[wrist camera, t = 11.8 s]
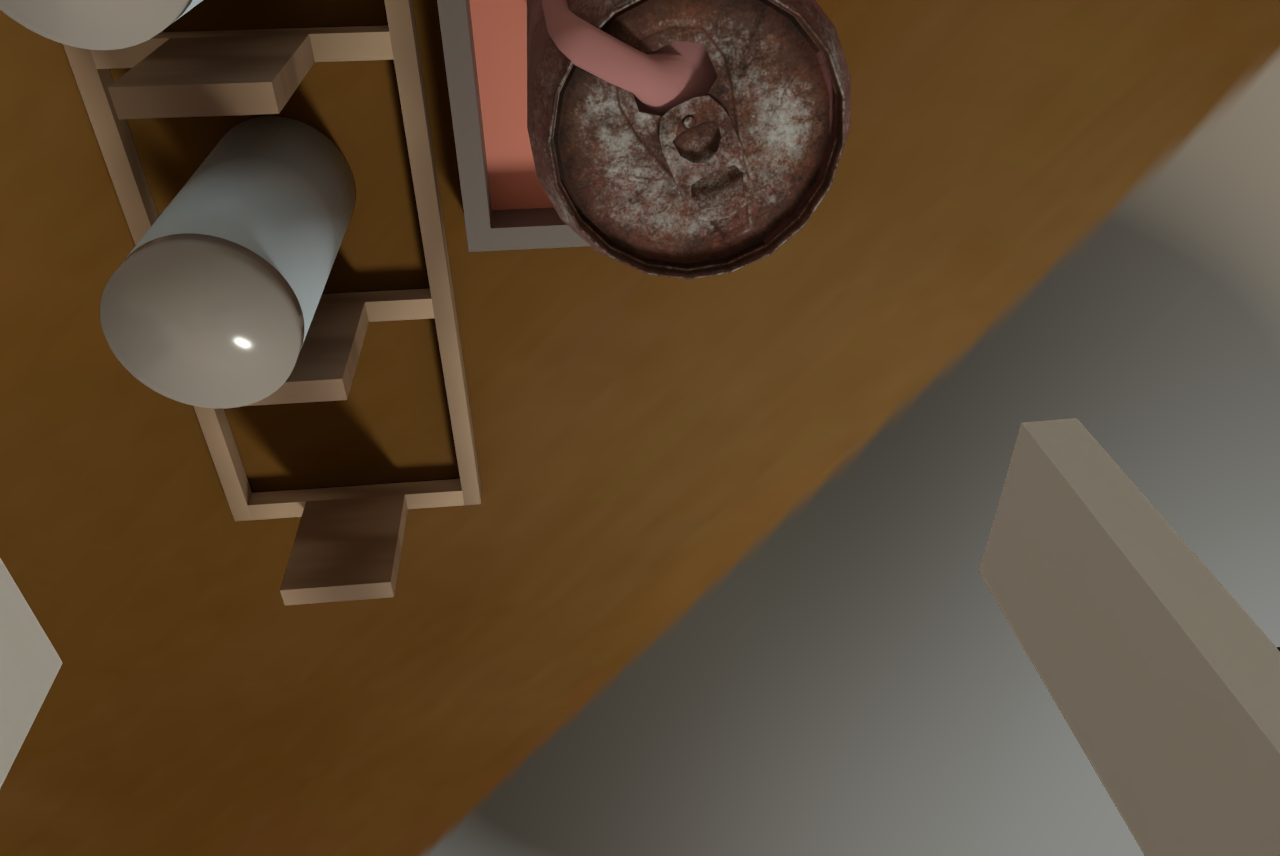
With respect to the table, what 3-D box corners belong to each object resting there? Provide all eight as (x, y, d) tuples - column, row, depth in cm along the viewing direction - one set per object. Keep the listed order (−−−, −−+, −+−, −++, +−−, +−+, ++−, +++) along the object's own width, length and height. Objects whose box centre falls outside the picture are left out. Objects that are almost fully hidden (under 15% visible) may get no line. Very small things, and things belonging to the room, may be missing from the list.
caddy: (239, 508, 38) (200, 611, 34) (-68, -363, 22) (-228, -396, 17) (481, 492, 39) (475, 590, 35) (360, -362, 23) (318, -392, 18)
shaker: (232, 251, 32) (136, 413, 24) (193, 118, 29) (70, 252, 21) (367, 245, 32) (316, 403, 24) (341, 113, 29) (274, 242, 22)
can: (578, -183, 25) (620, -134, 14) (766, -56, 27) (935, 74, 16) (485, 25, 28) (458, 207, 17) (663, 124, 30) (745, 342, 19)
